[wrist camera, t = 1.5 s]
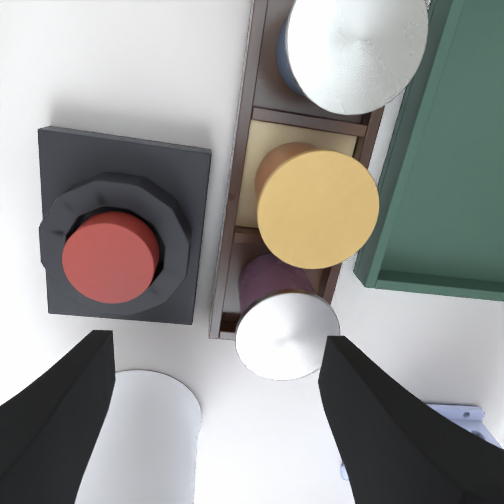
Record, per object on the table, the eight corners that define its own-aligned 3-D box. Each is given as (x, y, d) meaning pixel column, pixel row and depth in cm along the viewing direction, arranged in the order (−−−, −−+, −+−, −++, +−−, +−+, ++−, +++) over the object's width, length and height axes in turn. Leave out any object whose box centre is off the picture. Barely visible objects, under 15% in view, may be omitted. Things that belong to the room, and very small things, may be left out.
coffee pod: (350, 141, 20) (395, 160, 15) (328, 231, 22) (361, 274, 17) (255, 126, 19) (269, 141, 14) (240, 221, 21) (248, 263, 16)
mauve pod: (321, 251, 22) (352, 298, 17) (304, 322, 24) (326, 383, 19) (237, 241, 22) (243, 287, 17) (226, 316, 24) (228, 377, 19)
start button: (73, 205, 18) (59, 217, 16) (162, 216, 18) (156, 228, 17) (75, 281, 19) (63, 299, 18) (157, 289, 20) (151, 307, 18)
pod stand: (405, -18, 18) (421, -27, 16) (313, 332, 25) (319, 346, 24) (259, -51, 17) (262, -63, 15) (208, 324, 24) (208, 338, 23)
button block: (48, 125, 19) (18, 133, 16) (211, 149, 20) (211, 160, 17) (57, 300, 23) (33, 333, 20) (193, 312, 24) (190, 344, 21)
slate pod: (384, 0, 18) (449, -33, 13) (355, 114, 19) (403, 125, 14) (277, -23, 17) (303, -67, 12) (259, 98, 19) (274, 103, 14)
